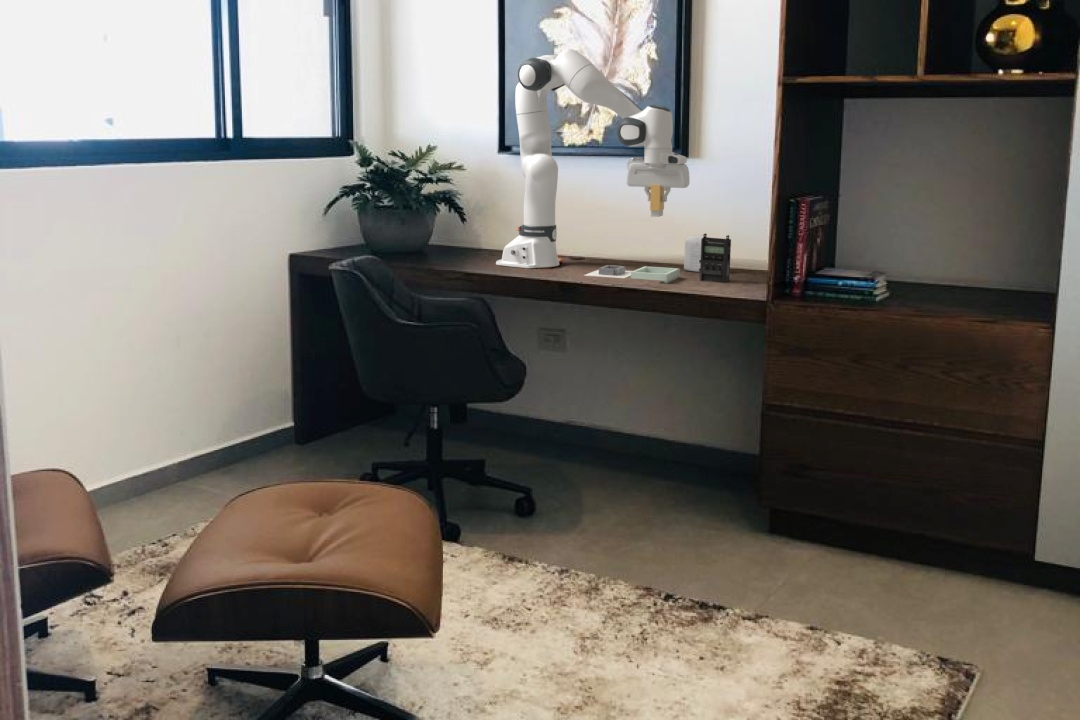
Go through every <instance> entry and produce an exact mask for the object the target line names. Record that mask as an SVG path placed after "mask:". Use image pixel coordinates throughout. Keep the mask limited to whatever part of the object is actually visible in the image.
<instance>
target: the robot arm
mask: <svg viewBox="0 0 1080 720" xmlns="http://www.w3.org/2000/svg"><path fill="white" fill-rule="evenodd" d="M517 79H518V83H517V85H516V87H515V93H514V95H515V97H514V103H515V114H516V116H515V117H516V123H517V129H518V136H519V138H518V139H519V153H520V165H521V166H520V167H521V172H522V175H523V177H524V179H525V185H524V186H525V188H524V200H523V224H521V225H520V226H518V227H517V230H516V231H517V232H518V235H517V236H516V237H515V238H513V239H512V240H511V241H510V242H509V243H507V244H506V245H505V246H504V247H503V251H502V256H501V259H498V260H496V262H495V265H496V266H504V267H512V268H513V267H514V268H522V269H536V268H552V267H558V266H560V261H559V257H558V252H557V243H556V242H557V235H558V233H557V224H556V200H557V190H558V180H559V179H558V178H559V166H558V164H557V163H558V162H557V161H556V159H555V158H554V157H553V154H552V153H553V152H552V130H551V129H552V128H551V123H550V122H551V121H550V114H549V106H548V94H549V92H550V91H553V92H555V91H557V90H558V89H560V88H562V87H564V86H566V87H567V88H568V90H569V91H570V92H571V93H573V94H574V96H576V97H577V98H578V99H580V100H581V101H583V102H584V103H587V104H591V105H595V106H600V107H604V108H607V109H609V110H611V111H613V112H614V113H615V114H616V115H617V116H619V117H620V118H621V120H620V121H619V122H618V124H617V127H616V136H617V139H618V141H619V143H621V145H623V146H626V147H629V148H631V147H634V148H635V147H638V148H639V147H643V148H644V150H643V151H644V152H643V153H644V156H643V157H642V156H640V157H637V156H636V157H634V156H633V157H631V158H629V159H628V160H627V162H626V170H627V174H626V185H627V186H628V187H632V188H633V187H640V188H644V193H645V194H646V196H647V201H648V202H650V195H651V185H660V187H664V196H661V202H664V203H667V201H668V196H669V194H670V193H671V191H672V190H671V188H675V189H676V188H677V189H685V188H688V187H689V185H690V171H689V170H690V169H689V166H688V165H687V164H686V163H687V161H688V159H687V157H686V155H685V156H684V155H681V154H679V153H676V152H673V145H672V137H673V134H674V133H673V132H674V125H673V123H674V122H673V113H672V111H671V110H670V108H668V107H666V106H662V105H656V104H650V105H647V106H646V107H645V108H643V109H642V108H641V107H639V106H638V105H637V104H636V103H635V102H634V101H633V100H632V99H631V98H629V96H627V95H626V94H625V93H624V92H623V91H622V90H620V89H619V88H618V87H617V86H615V84H613V83H612V82H611V81H610V80H609V79H608V78H607V77H606V76H605V75H604V74H603V73H602V72H601V71H600V70H599V69H598V68H597V67H596V66H595V65H594V63H592V62H591V61H590V60H589V59H588V58H586V57H585V56H584V55H583V54H581V53H580V52H578V51H577V50H575V49H573V48H567V49H564V50H563V51H561V52H560V53H559V54H543V55H540V56H537V57H531V58H528V59H525V60H524V61H523V62H521V64H520V65H519V67H518V70H517Z"/></svg>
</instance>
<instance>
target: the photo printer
mask: <svg viewBox="0 0 1080 720" xmlns="http://www.w3.org/2000/svg"><path fill="white" fill-rule="evenodd" d="M707 237H708V238H711V237H709V236H707ZM701 238H703V234H702V235H701V234H696V235H690V236H687V237H686V239H685V240H684V241H685V242H684V263H683V269H684V270H685V271H687V272H689V271H690V272H697V273H700V271H699V268H700V263H699V260H701Z"/></svg>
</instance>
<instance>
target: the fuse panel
mask: <svg viewBox="0 0 1080 720" xmlns="http://www.w3.org/2000/svg"><path fill="white" fill-rule="evenodd" d="M632 271H633V270H626V266H623V265H615V264H614V265H613V264H610V265H609V264H607V265H603V266H601V267H599V268H598V269H596V270H593V271H591V272H589V273H586V274H583V276H586V277H600V278H615V279H626V278H628V277H631V272H632Z"/></svg>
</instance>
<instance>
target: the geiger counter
mask: <svg viewBox="0 0 1080 720" xmlns="http://www.w3.org/2000/svg"><path fill="white" fill-rule="evenodd" d="M707 235H708V234H707V233H704V234H702V236H703V238H701V260H699V263H700V268H699V271H700V272H699V280H700V281H705V282H715V283H722V284H725V283H729V282H730V273H731V272H730V271H731V270H730V268H731V248H732V239H731V238H730V235H729V234H727V235H726V236H725V238H721V237H720V238H718V237H717V238H716V237H710V238H708V237H709V236H707Z"/></svg>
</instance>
